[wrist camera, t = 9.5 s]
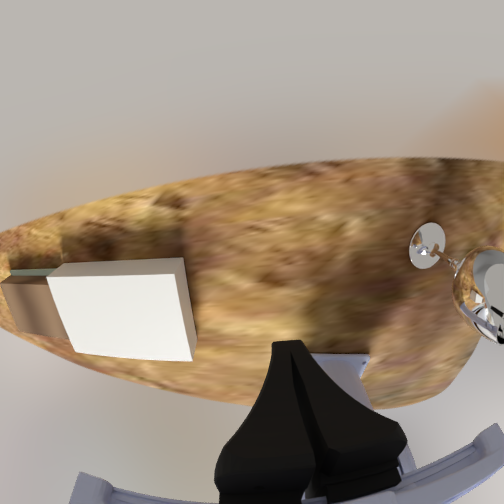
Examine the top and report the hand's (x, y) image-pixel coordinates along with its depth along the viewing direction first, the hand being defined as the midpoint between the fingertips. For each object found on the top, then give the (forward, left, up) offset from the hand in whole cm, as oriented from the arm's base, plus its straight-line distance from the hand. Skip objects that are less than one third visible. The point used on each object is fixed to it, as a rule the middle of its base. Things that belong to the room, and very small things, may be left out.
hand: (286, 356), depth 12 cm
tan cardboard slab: (-7, +23, -10) cm, 25 cm away
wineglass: (+4, -14, -10) cm, 18 cm away
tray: (-5, +12, -10) cm, 16 cm away
